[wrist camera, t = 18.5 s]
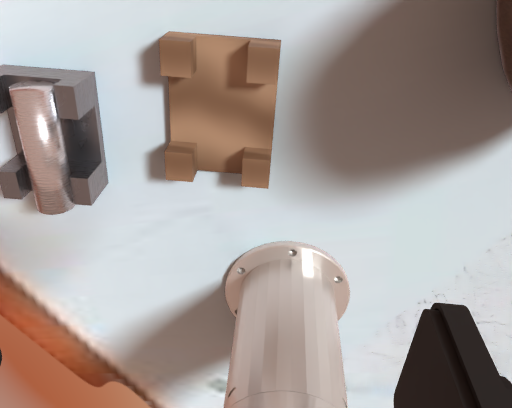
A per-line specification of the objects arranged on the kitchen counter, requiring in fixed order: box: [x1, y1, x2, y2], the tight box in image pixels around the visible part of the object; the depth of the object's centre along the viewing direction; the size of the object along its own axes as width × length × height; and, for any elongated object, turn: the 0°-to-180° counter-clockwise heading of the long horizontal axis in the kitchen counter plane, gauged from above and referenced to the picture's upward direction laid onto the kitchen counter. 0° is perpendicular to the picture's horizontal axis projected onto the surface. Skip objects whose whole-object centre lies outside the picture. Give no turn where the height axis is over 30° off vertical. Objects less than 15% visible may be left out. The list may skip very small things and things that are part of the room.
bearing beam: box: [159, 31, 281, 188], centre depth 35 cm, size 11×8×3 cm
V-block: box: [0, 65, 108, 206], centre depth 37 cm, size 10×7×4 cm
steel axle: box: [9, 81, 75, 215], centre depth 35 cm, size 10×3×3 cm, turn 177°
